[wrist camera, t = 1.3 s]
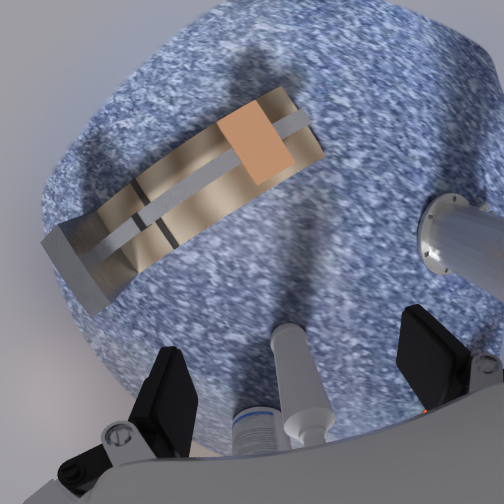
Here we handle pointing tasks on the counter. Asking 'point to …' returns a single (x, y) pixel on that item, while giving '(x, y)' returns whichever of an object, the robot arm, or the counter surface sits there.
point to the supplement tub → (259, 432)
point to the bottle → (300, 387)
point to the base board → (207, 199)
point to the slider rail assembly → (129, 232)
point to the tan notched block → (256, 142)
